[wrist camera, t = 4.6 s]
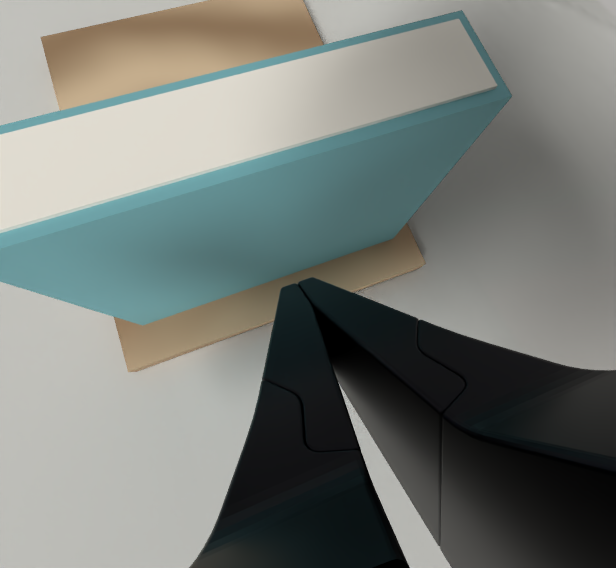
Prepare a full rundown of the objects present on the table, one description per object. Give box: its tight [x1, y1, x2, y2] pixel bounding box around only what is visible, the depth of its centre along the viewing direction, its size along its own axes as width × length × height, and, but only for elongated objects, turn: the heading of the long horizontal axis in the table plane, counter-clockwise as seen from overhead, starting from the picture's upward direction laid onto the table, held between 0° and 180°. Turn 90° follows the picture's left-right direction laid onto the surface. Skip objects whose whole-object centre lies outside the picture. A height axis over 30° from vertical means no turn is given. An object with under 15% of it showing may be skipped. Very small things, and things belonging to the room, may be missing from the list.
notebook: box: [0, 10, 512, 326], centre depth 12 cm, size 3×12×9 cm, turn 111°
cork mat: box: [41, 0, 426, 372], centre depth 18 cm, size 18×14×1 cm
